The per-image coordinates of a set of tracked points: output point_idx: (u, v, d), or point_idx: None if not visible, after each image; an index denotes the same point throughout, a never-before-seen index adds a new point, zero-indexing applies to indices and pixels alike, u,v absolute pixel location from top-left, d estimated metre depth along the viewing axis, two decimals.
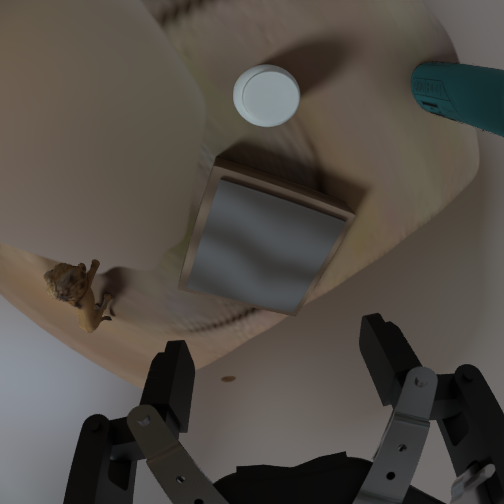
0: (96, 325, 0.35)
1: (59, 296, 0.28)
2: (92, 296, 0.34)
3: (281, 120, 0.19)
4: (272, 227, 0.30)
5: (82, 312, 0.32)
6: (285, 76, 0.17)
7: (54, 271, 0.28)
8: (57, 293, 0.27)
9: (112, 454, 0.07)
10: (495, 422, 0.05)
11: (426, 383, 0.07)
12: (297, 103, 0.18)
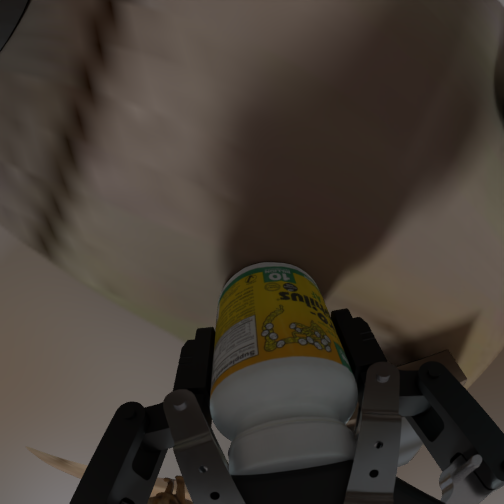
0: None
1: None
2: None
3: None
4: None
5: None
6: (307, 458, 0.06)
7: None
8: None
9: (142, 443, 0.08)
10: (471, 413, 0.06)
11: (387, 378, 0.08)
12: None
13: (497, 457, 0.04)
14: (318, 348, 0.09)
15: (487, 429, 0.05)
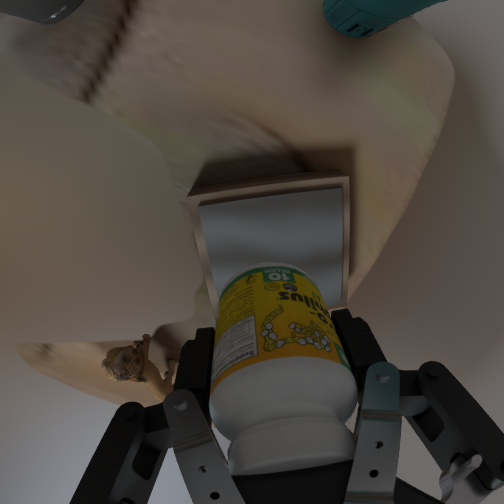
0: (168, 391, 0.37)
1: (119, 377, 0.31)
2: (153, 367, 0.37)
3: None
4: (271, 228, 0.28)
5: (149, 384, 0.35)
6: (306, 458, 0.06)
7: (107, 357, 0.32)
8: (116, 376, 0.31)
9: (142, 443, 0.08)
10: (471, 413, 0.06)
11: (386, 378, 0.08)
12: None
13: (497, 457, 0.04)
14: (317, 348, 0.09)
15: (487, 429, 0.05)
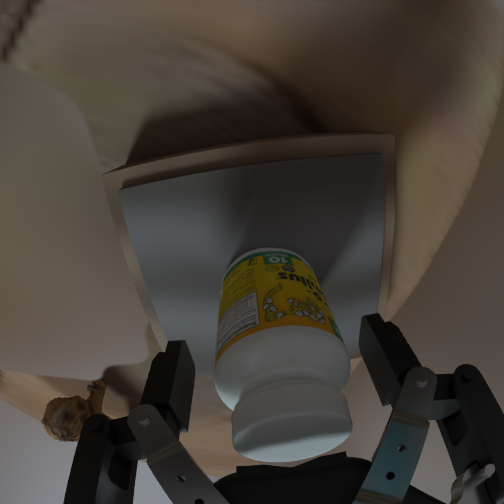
0: None
1: (61, 438, 0.18)
2: None
3: (327, 450, 0.08)
4: (252, 228, 0.15)
5: None
6: (304, 415, 0.07)
7: (46, 411, 0.19)
8: (57, 436, 0.18)
9: (113, 454, 0.07)
10: (494, 421, 0.05)
11: (425, 383, 0.07)
12: (349, 429, 0.08)
13: None
14: (313, 320, 0.10)
15: None
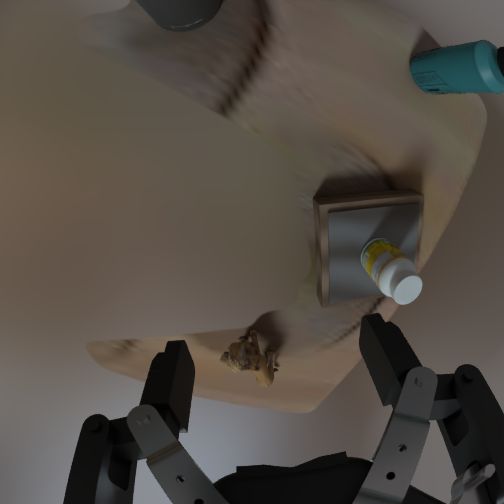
0: (273, 377, 0.46)
1: (243, 367, 0.40)
2: (263, 357, 0.45)
3: (415, 298, 0.30)
4: (375, 230, 0.36)
5: (260, 372, 0.44)
6: (413, 276, 0.28)
7: (230, 352, 0.41)
8: (240, 367, 0.40)
9: (112, 454, 0.07)
10: (495, 422, 0.05)
11: (426, 383, 0.07)
12: (421, 286, 0.29)
13: None
14: (406, 257, 0.31)
15: None
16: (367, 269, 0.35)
